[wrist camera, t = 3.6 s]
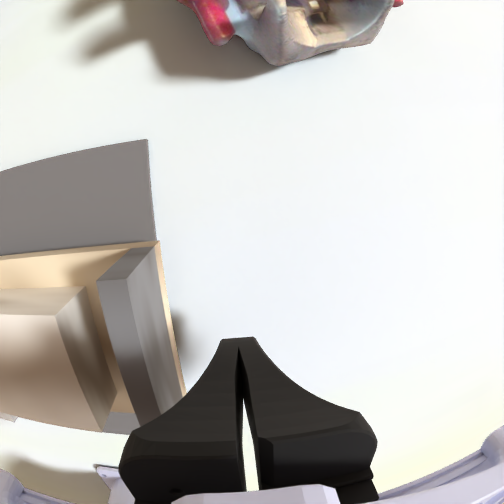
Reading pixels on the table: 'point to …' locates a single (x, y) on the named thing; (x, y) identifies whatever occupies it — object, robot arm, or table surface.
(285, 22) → the brake caliper
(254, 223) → the table surface
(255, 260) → the table surface
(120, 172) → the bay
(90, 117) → the table surface
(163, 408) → the grey beige angular piece
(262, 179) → the table surface
